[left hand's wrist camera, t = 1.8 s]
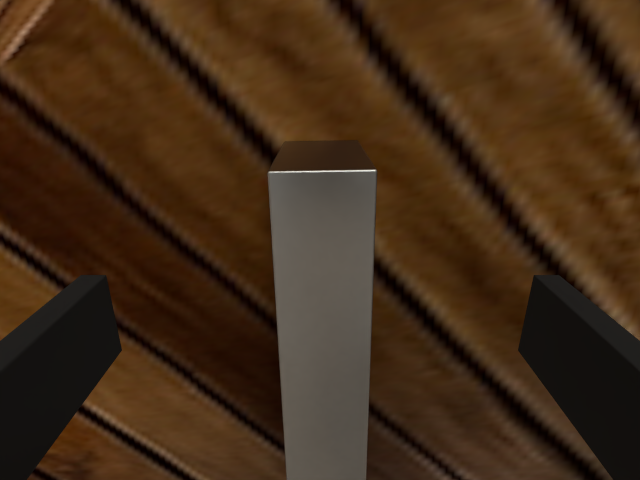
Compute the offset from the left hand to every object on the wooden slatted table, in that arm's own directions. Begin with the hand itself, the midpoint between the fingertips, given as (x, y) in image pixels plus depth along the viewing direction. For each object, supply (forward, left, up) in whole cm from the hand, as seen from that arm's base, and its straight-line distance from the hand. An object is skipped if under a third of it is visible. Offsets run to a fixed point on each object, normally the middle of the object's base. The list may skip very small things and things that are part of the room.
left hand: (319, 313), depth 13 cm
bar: (-6, +6, -14) cm, 17 cm away
